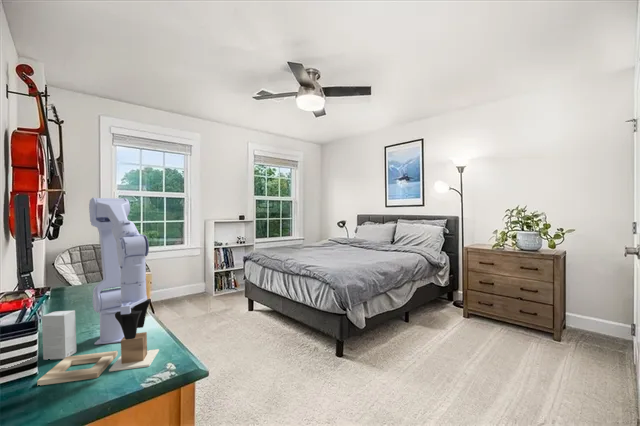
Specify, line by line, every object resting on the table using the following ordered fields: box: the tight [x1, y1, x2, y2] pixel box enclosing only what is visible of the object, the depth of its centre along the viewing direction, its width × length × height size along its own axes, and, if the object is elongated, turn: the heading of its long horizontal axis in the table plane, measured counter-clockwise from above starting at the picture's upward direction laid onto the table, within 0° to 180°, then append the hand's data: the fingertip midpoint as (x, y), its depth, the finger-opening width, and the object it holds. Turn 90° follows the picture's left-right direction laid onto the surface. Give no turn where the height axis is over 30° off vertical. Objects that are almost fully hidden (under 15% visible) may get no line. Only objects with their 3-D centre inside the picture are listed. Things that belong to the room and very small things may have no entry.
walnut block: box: [120, 331, 148, 364], centre depth 81 cm, size 4×5×6 cm
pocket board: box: [36, 350, 119, 386], centre depth 77 cm, size 12×12×1 cm
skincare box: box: [41, 310, 77, 361], centre depth 85 cm, size 6×4×12 cm
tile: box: [108, 348, 160, 373], centre depth 81 cm, size 9×9×1 cm
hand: (134, 332), depth 81 cm, fingers open, 7 cm apart
